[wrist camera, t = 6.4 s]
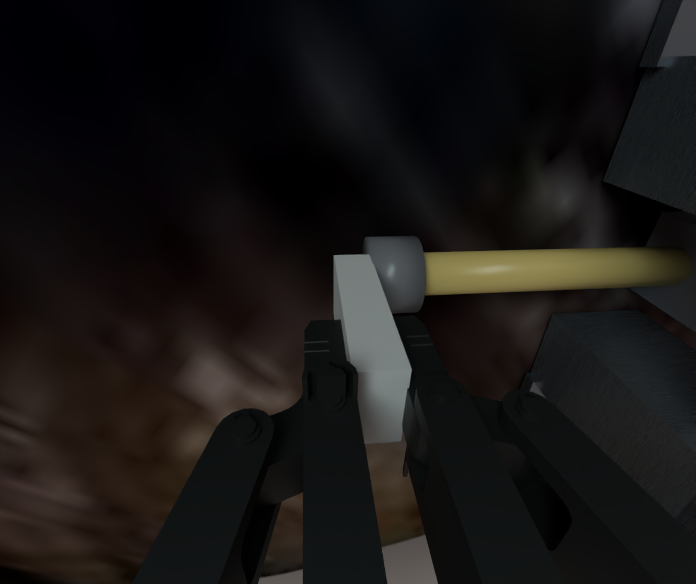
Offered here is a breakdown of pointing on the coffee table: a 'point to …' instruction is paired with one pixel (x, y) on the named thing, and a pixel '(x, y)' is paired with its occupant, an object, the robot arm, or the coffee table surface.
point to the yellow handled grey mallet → (546, 269)
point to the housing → (632, 325)
